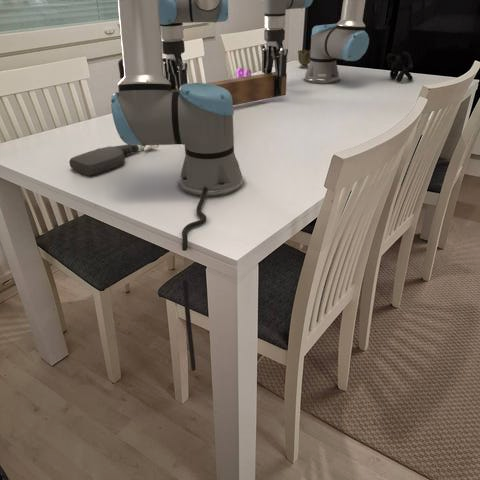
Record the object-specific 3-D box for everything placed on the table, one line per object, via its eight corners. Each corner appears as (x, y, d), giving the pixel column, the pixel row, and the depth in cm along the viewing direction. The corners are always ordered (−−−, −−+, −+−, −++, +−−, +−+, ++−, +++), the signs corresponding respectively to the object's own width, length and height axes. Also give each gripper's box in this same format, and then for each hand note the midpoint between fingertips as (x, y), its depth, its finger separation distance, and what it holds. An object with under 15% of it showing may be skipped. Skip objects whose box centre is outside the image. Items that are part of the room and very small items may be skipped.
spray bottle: (67, 168, 120) (139, 144, 136) (91, 178, 114) (163, 151, 130) (65, 157, 118) (137, 134, 134) (89, 167, 112) (162, 142, 128)
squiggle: (400, 92, 202) (376, 71, 205) (417, 76, 202) (392, 56, 205) (405, 81, 191) (380, 59, 194) (423, 64, 191) (397, 42, 194)
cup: (294, 68, 226) (295, 51, 222) (300, 65, 232) (301, 48, 227) (308, 69, 223) (309, 52, 219) (313, 66, 229) (315, 49, 224)
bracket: (246, 86, 195) (246, 69, 191) (236, 85, 197) (235, 68, 194) (263, 80, 203) (263, 64, 200) (253, 79, 206) (253, 63, 202)
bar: (170, 118, 152) (167, 93, 147) (164, 115, 155) (161, 90, 150) (285, 95, 176) (286, 73, 171) (278, 92, 179) (279, 71, 174)
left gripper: (195, 41, 138) (200, 116, 151) (170, 35, 151) (176, 105, 163) (174, 44, 135) (181, 120, 147) (149, 38, 147) (157, 108, 160)
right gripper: (298, 30, 158) (295, 97, 170) (268, 25, 170) (267, 88, 183) (281, 32, 154) (279, 100, 167) (252, 27, 167) (252, 91, 179)
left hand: (178, 112), depth 155 cm, fingers closed on bar, 5 cm apart
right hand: (273, 93), depth 175 cm, fingers closed on bar, 5 cm apart
